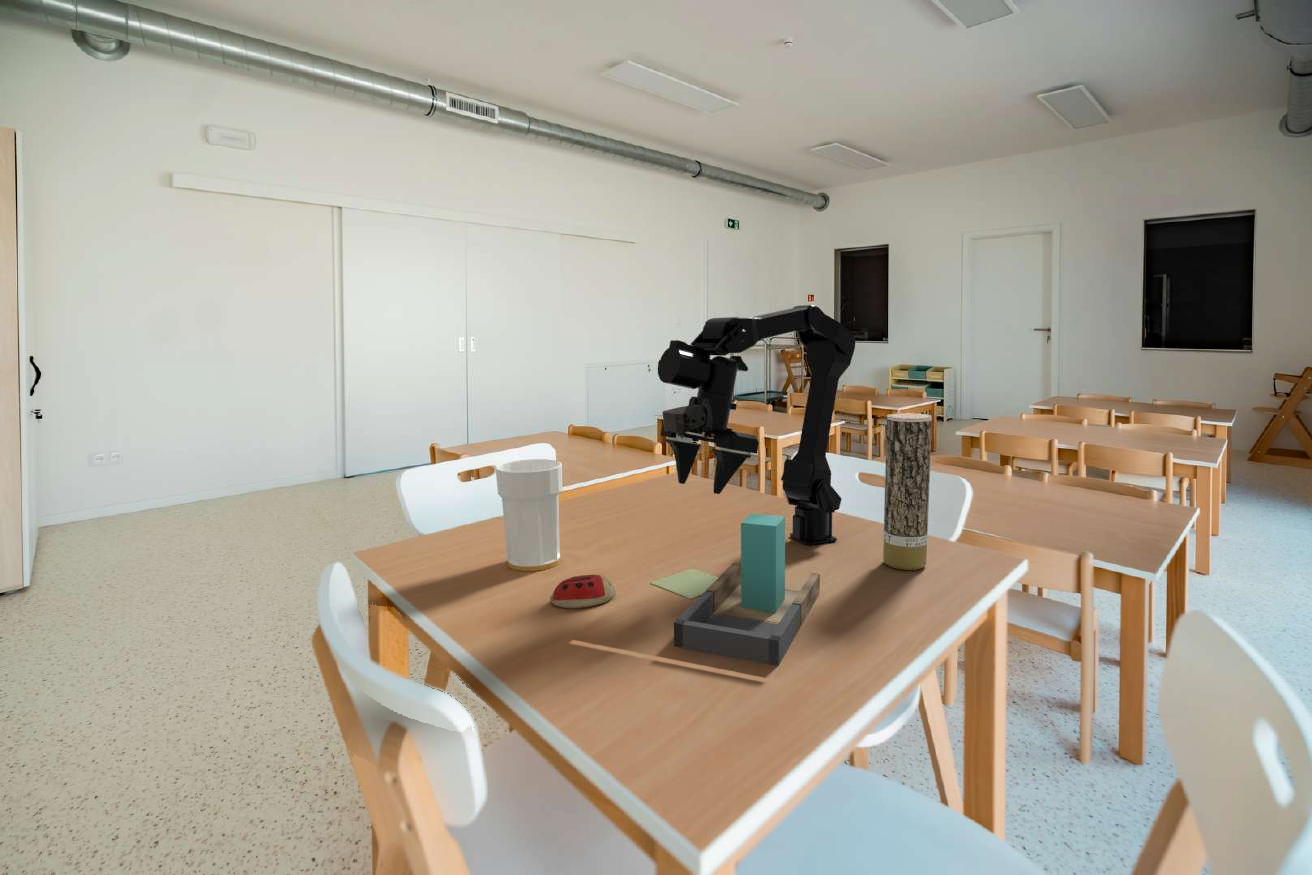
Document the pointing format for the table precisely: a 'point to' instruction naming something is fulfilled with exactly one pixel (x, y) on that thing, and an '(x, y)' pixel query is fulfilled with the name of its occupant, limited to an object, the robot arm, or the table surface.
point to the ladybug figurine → (583, 591)
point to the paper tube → (907, 490)
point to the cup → (531, 512)
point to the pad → (687, 583)
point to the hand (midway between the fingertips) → (698, 488)
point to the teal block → (763, 562)
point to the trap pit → (735, 633)
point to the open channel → (730, 604)
